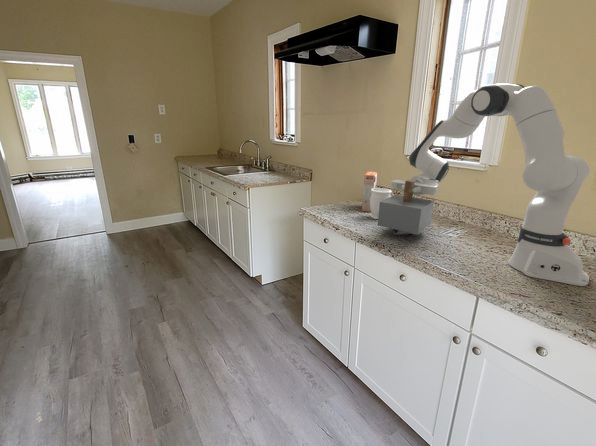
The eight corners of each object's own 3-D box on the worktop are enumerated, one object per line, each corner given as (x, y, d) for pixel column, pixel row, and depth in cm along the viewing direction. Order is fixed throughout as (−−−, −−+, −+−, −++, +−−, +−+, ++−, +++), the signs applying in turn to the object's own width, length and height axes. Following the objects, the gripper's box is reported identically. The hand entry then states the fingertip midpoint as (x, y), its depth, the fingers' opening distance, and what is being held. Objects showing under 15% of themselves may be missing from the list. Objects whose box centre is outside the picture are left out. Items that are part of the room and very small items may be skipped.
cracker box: (372, 212, 178) (375, 175, 172) (361, 211, 180) (364, 174, 174) (374, 206, 191) (377, 171, 184) (364, 205, 193) (367, 171, 186)
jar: (364, 216, 170) (366, 189, 166) (376, 213, 177) (379, 186, 172) (381, 221, 162) (384, 192, 158) (392, 218, 169) (396, 190, 164)
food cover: (430, 223, 145) (437, 180, 138) (417, 234, 131) (424, 186, 125) (393, 216, 155) (397, 175, 149) (377, 225, 141) (381, 181, 135)
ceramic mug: (415, 236, 143) (417, 219, 140) (398, 237, 141) (399, 220, 139) (404, 229, 153) (406, 213, 150) (388, 229, 151) (389, 214, 149)
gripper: (397, 175, 153) (386, 179, 142) (442, 181, 141) (433, 185, 130) (396, 188, 155) (384, 193, 144) (440, 195, 143) (431, 200, 132)
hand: (408, 189), depth 137 cm, fingers closed on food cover, 3 cm apart
